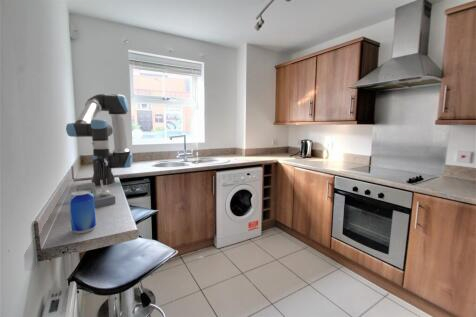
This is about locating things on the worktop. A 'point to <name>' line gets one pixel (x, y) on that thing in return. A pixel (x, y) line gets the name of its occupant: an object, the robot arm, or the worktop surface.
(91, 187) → the electrical switch
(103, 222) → the worktop surface
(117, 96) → the robot arm
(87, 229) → the beer can
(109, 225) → the worktop surface
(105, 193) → the knob cream
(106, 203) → the mount block
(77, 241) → the worktop surface
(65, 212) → the worktop surface
